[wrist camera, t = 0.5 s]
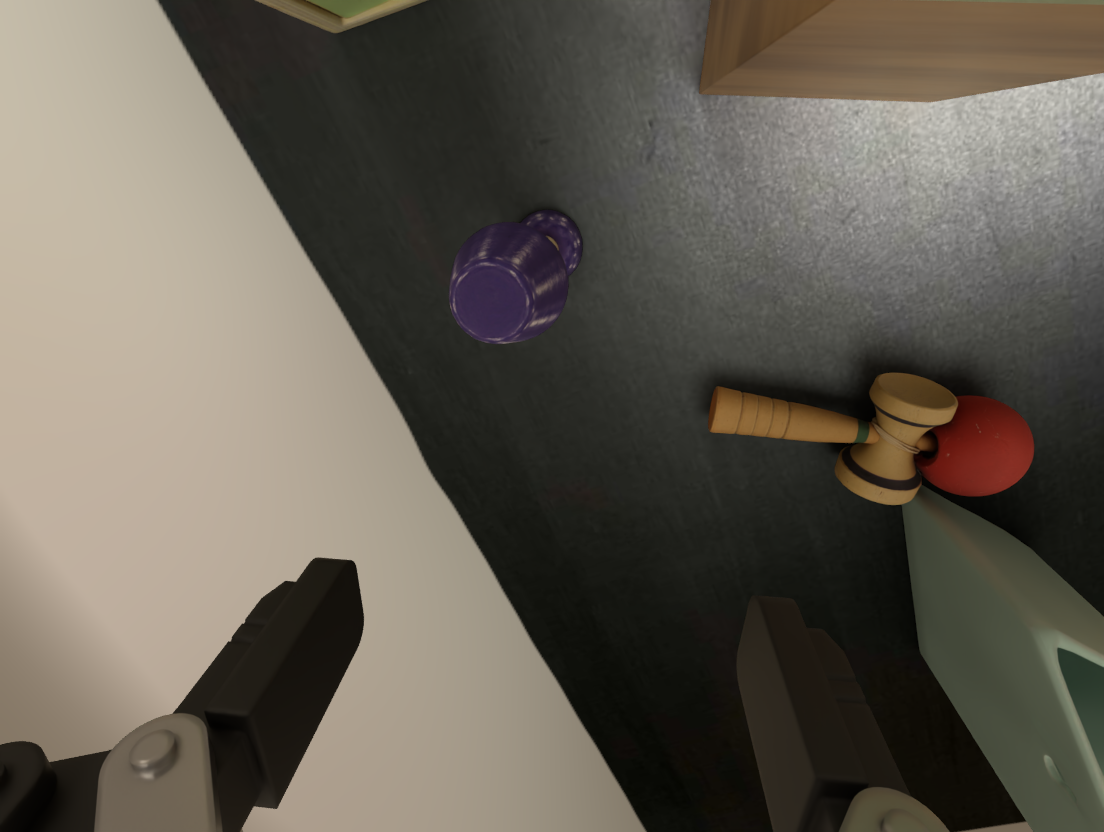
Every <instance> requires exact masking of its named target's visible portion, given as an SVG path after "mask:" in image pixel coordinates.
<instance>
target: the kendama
mask: <svg viewBox="0 0 1104 832" xmlns="http://www.w3.org/2000/svg"><path fill="white" fill-rule="evenodd" d="M869 394H870V398H871V400H872V402H873V403H874V406H875V409H876V417H874V418H873V419H872V421H871V422H867V421H863V420H861V419H857V418H853V417H850V416H846V415H843V414H839V413H836V412H833V411H829V410H825V409H821V408H817V407H813V406H809V405H804V404H799V403H794V402H788V403H787V402H786V401H784V400H779V399H771V398H769V397H764V396H759V395H755V394H750V393H745V392H743V393H741V392H740V391H737V390H732V389H728V388H724V387H719V386H717V387H716V388H715V390H714V393H713V397H712V401H711V405H710V412H709V421H708V429H709V431H710V432H714V433H729V434H733V433H736V434H741V435H753V436H763V437H764V436H766V437H771V438H783V439H790V440H800V441H813V442H837V443H858V444H855V445H850V446H847V447H845V448H844V449H842V450H841V451H840V453H839V456H838V459H837V462H836V465H835V474H836V476H837V478H838V479H839V480H840V481H841V483H842V484H843V485H844V486H846V487H847V488H848V489H849V490H851V491H852V492H854V493H856V494H857V495H859V496H861V497H864V498H866V499H868V500H871V501H874V502H878V503H882V504H887V505H900V504H905V503H907V502H909V501H911V500H912V499H913V498H914V496H915V494H916V493H917V491H918V489H919V488H920V486H921V483H922V478H921V477H922V475H923V477H924V478H926V479H927V480H928V481H929V482H931V483H932V484H934V485H935V486H937V487H938V488H940V489H942V490H944V491H947V492H950V493H953V494H957V495H962V496H986V495H991V494H995V493H998V492H1000V491H1003V490H1005V489H1007V488H1009V487H1010V486H1012V485H1013V484H1015V483H1016V482H1017V481H1019V480H1020V479H1021V478H1022V477H1023V476H1024V474H1025V473H1026V472H1027V470H1028V469H1029V467H1030V464H1031V462H1032V459H1033V455H1034V441H1033V436H1032V433H1031V431H1030V428H1029V426H1028V424H1027V423H1026V422H1025V420H1024V419H1023V418H1022V417H1021V416H1020V415H1019V414H1018V413H1017V412H1016V411H1015V410H1013V409H1012V408H1011V407H1009V406H1007V405H1006V404H1004V403H1001V402H999V401H997V400H994V399H991V398H987V397H982V396H972V395H966V396H957V397H955V396H954V395H953V394H952V393H951V392H950V391H949V390H948V389H946V388H945V387H943V386H941V385H939V384H937V383H935V382H933V381H931V380H928V379H926V378H923V377H919V376H916V375H911V374H906V373H885V374H881V375H878V377H876V378H875V381H874V383H873V385H872V387H871V389H870V391H869Z"/></svg>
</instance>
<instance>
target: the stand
mask: <svg viewBox="0 0 1104 832" xmlns="http://www.w3.org/2000/svg"><path fill="white" fill-rule="evenodd" d="M1099 73H1104V5H1091V4H1049V3H1006V2H963V1H921V0H711V2H710V10H709V18H708V26H707V34H706V42H705V50H704V57H703V65H702V73H701V81H700V89H699V94H707V95H736V96H765V97H794V98H823V99H852V100H881V101H909V102H935V101H941V100H947V99H953V98H959V97H965V96H970V95H976V94H982V93H988V92H994V91H1000V90H1006V89H1011V88H1017V87H1023V86H1029V85H1035V84H1041V83H1047V82H1052V81H1058V80H1064V79H1070V78H1076V77H1082V76H1088V75H1093V74H1099Z"/></svg>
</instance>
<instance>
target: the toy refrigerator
mask: <svg viewBox="0 0 1104 832" xmlns="http://www.w3.org/2000/svg"><path fill="white" fill-rule="evenodd" d="M256 1H258V2H261V3H263V4H265V5H268V6H270V7H272V8H275V9H277V10H279V11H282V12H284V13H286V14H288V15H291V16H293V17H296V18H298V19H301V20H303V21H305V22H307V23H310V24H313V25H314V26H317V27H320V28H322V29H324V30H327V31H330V32H332V33H339V32H343V31H346V30H349V29H351V28H354V27H356V26H360V25H362V24H365V23H368V22H370V21H373V20H376V19H378V18H381V17H384V16H387V15H390V14H392V13H395V12H398V11H401V10H403V9H406V8H409V7H411V6H414V5H417V4H420V3H422V2H425V1H428V0H256Z"/></svg>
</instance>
